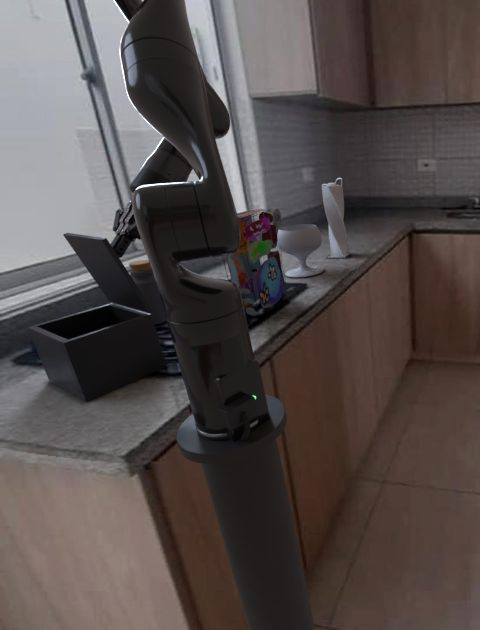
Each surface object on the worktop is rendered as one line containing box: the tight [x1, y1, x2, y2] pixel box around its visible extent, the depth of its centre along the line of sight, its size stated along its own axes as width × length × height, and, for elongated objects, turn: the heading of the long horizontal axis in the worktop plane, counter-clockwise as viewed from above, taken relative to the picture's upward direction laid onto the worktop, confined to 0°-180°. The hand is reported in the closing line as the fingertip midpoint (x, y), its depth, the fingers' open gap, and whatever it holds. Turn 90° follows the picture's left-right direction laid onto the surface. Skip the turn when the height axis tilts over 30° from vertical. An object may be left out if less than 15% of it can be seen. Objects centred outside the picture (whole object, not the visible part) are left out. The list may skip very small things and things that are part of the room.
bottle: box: [128, 259, 167, 326], centre depth 107 cm, size 6×6×15 cm
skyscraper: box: [321, 177, 351, 260], centre depth 159 cm, size 8×8×28 cm
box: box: [221, 208, 288, 323], centre depth 112 cm, size 25×6×24 cm, turn 170°
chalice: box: [277, 223, 324, 278], centre depth 142 cm, size 14×14×15 cm
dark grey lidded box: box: [27, 302, 167, 402], centre depth 82 cm, size 14×15×11 cm
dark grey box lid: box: [62, 232, 153, 313], centre depth 81 cm, size 15×15×1 cm
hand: (113, 255), depth 81 cm, fingers closed
